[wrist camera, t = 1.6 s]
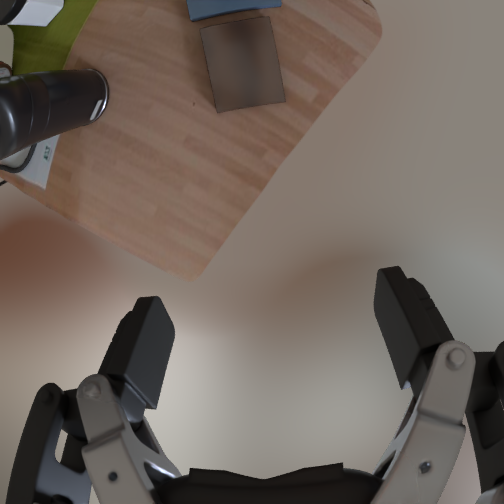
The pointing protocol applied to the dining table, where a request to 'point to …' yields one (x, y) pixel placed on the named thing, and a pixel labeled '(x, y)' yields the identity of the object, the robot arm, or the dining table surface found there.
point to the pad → (243, 64)
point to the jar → (29, 11)
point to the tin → (5, 70)
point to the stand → (225, 7)
